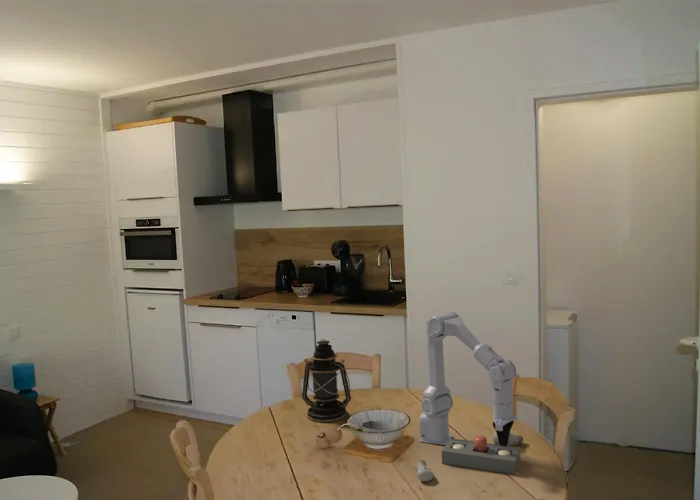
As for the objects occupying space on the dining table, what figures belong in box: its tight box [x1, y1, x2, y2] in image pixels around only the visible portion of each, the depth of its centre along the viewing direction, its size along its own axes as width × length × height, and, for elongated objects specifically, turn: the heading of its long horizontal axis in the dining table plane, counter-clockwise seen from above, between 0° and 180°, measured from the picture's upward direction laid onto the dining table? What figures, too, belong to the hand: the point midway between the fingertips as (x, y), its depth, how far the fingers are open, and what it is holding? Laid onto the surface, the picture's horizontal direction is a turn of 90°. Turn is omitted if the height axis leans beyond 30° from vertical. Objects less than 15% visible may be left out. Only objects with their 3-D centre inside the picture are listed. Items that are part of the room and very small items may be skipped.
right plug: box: [498, 450, 510, 456], centre depth 174 cm, size 4×4×4 cm
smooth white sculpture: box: [415, 459, 434, 483], centre depth 169 cm, size 4×8×5 cm
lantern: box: [301, 338, 352, 423], centre depth 222 cm, size 20×16×30 cm
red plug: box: [474, 435, 488, 452], centre depth 177 cm, size 4×4×4 cm
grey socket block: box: [441, 438, 522, 475], centre depth 177 cm, size 22×10×4 cm, turn 65°
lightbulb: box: [492, 430, 524, 446], centre depth 187 cm, size 6×6×11 cm
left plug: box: [453, 444, 464, 450], centre depth 180 cm, size 4×4×4 cm
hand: (503, 445), depth 174 cm, fingers closed
